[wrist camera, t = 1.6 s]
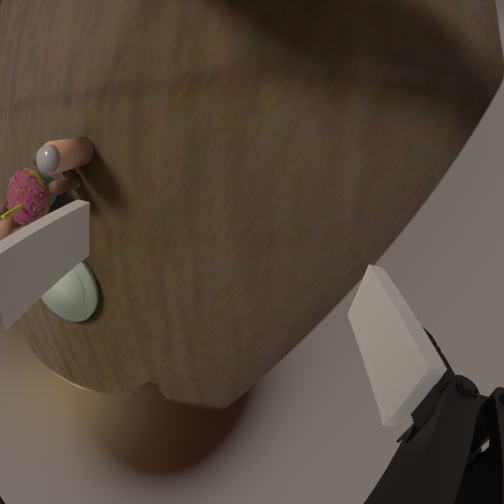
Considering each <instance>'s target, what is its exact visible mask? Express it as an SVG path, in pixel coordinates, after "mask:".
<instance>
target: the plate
mask: <svg viewBox="0 0 504 504" xmlns="http://www.w3.org/2000/svg"><path fill="white" fill-rule="evenodd" d="M41 298H42V300H43V301H44V302H45V304H46V305H47V306H48V307H49V308H50V309H51V310H52V311H53V312H54V313H56V314H57V315H59V316H60V317H62V318H64V319H67V320H69V321H75V322H79V321H84V320H86V319H87V318H89V317H90V316H91V314H92V313H93V312H94V311H95V309H96V308H97V305H98V300H99V291H98V286H97V282H96V279H95V277H94V274H93V272H92V271H91V269H90V267H89V266H88V264H87V263H86V262H85V260H82V261H81V262H80V263H79V264H78V265H77V266H75V267H74V268H73V269H72V270H71V271H70V272H68V273H67V274H66V275H65V276H64V277H63V278H61V279H60V280H59V281H58V282H57V283H56V284H55V285H54V286H53V287H51V288H50V289H49V290H48V291H47V292H46V293H45V294H44V295H43V296H42V297H41Z"/></svg>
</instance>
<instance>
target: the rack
mask: <svg viewBox="0 0 504 504" xmlns="http://www.w3.org/2000/svg"><path fill="white" fill-rule="evenodd" d="M37 153H38V151H36V152H35V153H34V154H33V163H34V165H36V166H37V162H36V157H37ZM62 173H63V175H64V177H63V178H60V179H57V180H54V181H52V182H51V183H50V184H49V191H50V193H51V195H52V196H57V195H60V194H62V193H65V192H67V191H70V190H75V189H77V188H78V187H79V186H80V185H81V178H80V176H79V175H78V174H75V172H74V171H73V169H70V170H67V171H63V172H62ZM7 207H8V206H7V202H6V201H5V202H2V203H0V215H1V216H2V215H3V214H5V213H6V212H8V211H9V210H8V208H7ZM21 228H23V226H20V227H19V228H17V229H15V230H13V233H14V232H16V231H18V230H20V229H21ZM13 233H12V234H13Z"/></svg>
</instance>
